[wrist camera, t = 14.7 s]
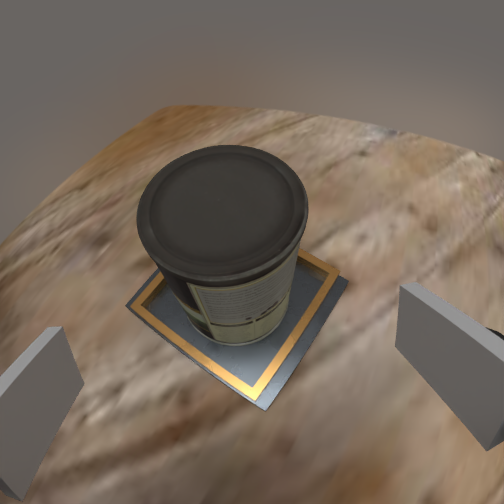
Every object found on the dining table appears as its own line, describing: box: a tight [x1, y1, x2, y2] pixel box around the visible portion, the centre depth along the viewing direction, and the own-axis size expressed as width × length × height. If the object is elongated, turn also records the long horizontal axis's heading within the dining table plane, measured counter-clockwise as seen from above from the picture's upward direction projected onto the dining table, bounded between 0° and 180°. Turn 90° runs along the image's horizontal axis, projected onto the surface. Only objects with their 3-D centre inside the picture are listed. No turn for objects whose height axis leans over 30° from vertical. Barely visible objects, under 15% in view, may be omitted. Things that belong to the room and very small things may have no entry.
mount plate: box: [125, 248, 349, 411], centre depth 30 cm, size 17×15×2 cm
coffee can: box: [137, 145, 308, 346], centre depth 25 cm, size 10×10×14 cm
